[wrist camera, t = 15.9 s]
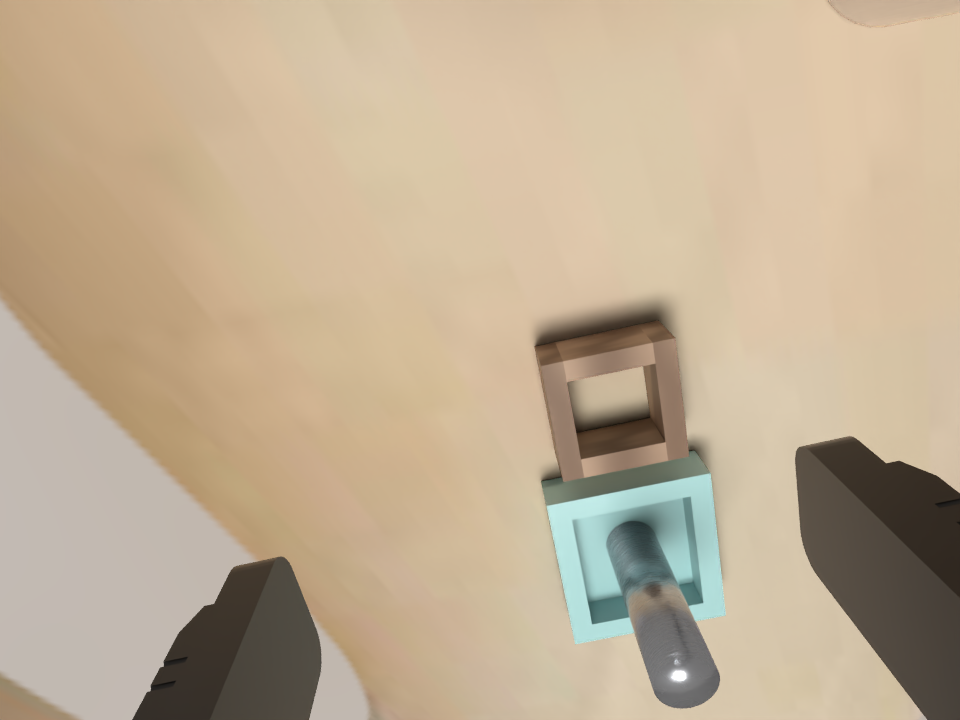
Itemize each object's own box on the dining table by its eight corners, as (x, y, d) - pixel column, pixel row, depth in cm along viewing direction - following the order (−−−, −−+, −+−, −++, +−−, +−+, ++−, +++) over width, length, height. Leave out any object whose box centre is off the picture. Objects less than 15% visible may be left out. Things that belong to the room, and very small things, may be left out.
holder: (658, 320, 49) (675, 337, 45) (672, 431, 52) (689, 456, 48) (534, 346, 49) (540, 366, 45) (555, 455, 52) (563, 482, 48)
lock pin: (653, 516, 53) (716, 651, 40) (659, 558, 54) (722, 701, 41) (602, 526, 53) (649, 663, 40) (610, 567, 55) (657, 713, 41)
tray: (694, 450, 52) (710, 473, 49) (710, 586, 57) (725, 615, 53) (541, 481, 53) (546, 506, 49) (568, 613, 57) (575, 644, 54)
